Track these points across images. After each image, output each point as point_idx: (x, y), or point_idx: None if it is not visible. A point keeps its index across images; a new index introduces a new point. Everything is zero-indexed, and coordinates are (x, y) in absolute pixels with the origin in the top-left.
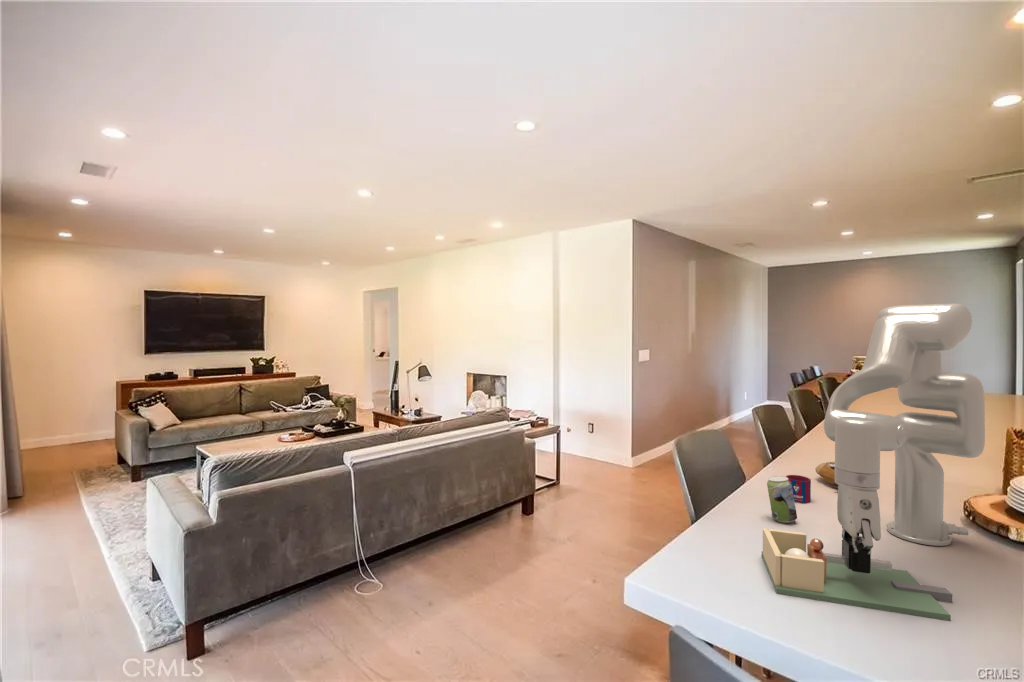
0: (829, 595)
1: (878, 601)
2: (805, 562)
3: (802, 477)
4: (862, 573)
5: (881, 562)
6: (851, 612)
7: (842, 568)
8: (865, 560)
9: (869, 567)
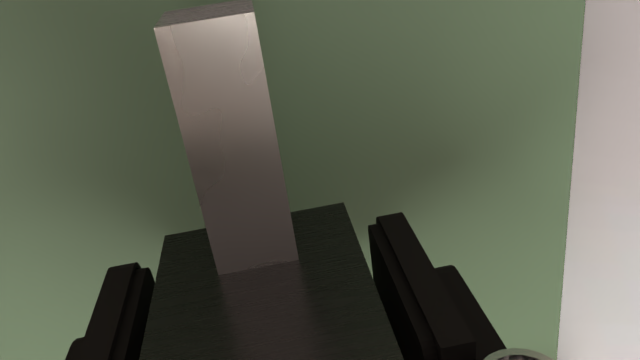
0: (545, 353)
1: (535, 121)
2: None
3: None
4: (80, 163)
5: (258, 130)
6: (625, 249)
7: (74, 283)
8: (489, 333)
9: (417, 244)
